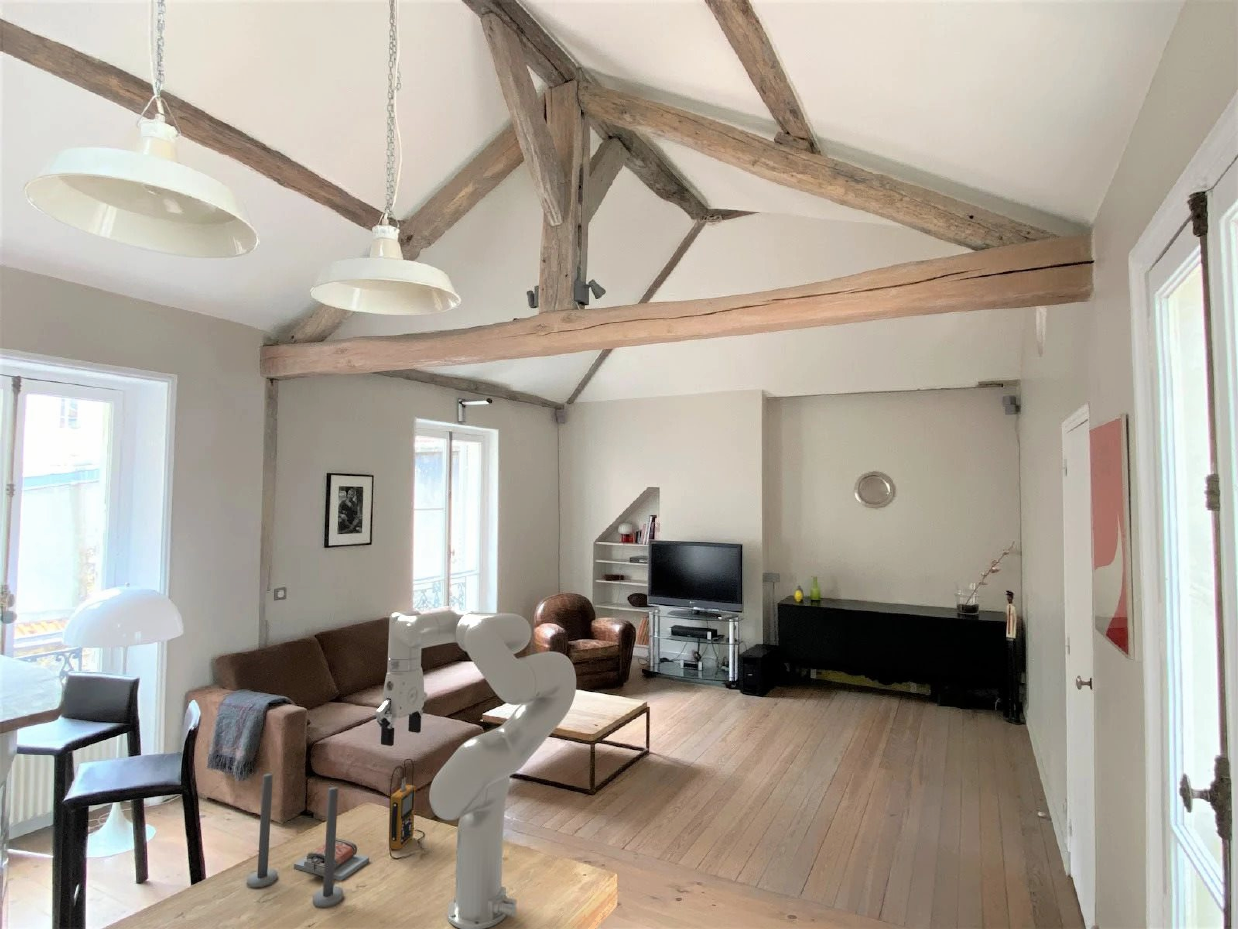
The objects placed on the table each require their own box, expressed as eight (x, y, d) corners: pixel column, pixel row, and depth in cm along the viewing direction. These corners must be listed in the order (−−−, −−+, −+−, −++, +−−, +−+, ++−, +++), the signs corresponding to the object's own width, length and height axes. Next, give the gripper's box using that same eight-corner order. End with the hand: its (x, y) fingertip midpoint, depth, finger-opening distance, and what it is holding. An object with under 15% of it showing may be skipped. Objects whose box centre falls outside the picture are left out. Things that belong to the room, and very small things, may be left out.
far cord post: (283, 876, 150) (288, 772, 152) (260, 890, 144) (266, 782, 146) (263, 871, 152) (269, 768, 154) (240, 884, 146) (246, 778, 148)
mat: (369, 861, 157) (369, 857, 157) (341, 881, 149) (341, 876, 149) (323, 850, 162) (323, 846, 162) (293, 868, 153) (294, 863, 154)
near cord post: (349, 894, 143) (354, 785, 145) (328, 910, 138) (333, 796, 139) (327, 888, 145) (332, 781, 147) (306, 903, 140) (311, 792, 142)
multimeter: (418, 862, 157) (421, 776, 158) (380, 857, 159) (383, 772, 160) (446, 833, 171) (449, 754, 173) (411, 829, 173) (414, 751, 175)
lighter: (329, 849, 160) (297, 871, 150) (330, 835, 160) (299, 855, 150) (356, 858, 157) (326, 879, 148) (358, 843, 157) (327, 864, 148)
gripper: (392, 674, 147) (389, 753, 145) (439, 658, 163) (436, 729, 161) (365, 670, 149) (362, 748, 148) (414, 655, 165) (411, 725, 164)
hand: (401, 738), depth 155 cm, fingers open, 9 cm apart
